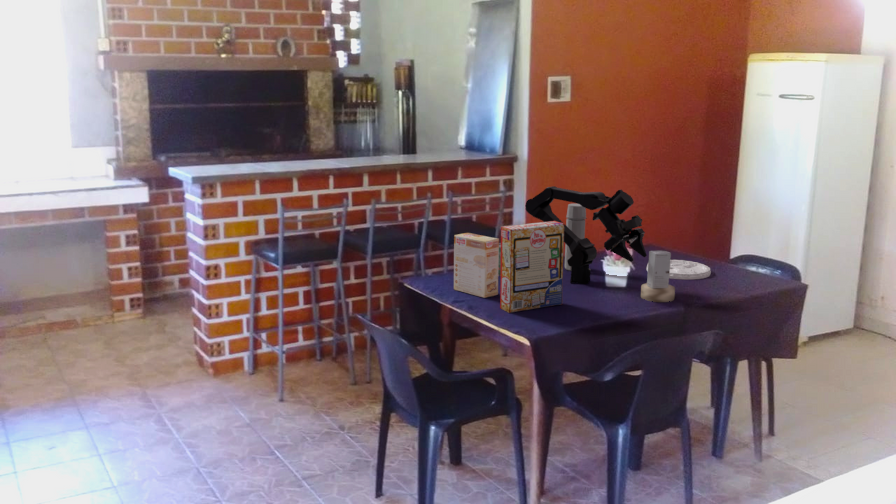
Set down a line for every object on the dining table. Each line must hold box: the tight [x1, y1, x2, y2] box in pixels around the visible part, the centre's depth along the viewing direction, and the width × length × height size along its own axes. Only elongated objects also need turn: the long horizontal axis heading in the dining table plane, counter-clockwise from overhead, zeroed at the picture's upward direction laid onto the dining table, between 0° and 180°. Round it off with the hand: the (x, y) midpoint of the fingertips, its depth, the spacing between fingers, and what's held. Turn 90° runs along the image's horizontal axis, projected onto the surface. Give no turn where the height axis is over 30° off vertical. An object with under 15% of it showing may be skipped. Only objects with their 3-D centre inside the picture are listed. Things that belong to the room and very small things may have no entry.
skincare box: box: [646, 250, 672, 289], centre depth 270 cm, size 6×4×12 cm
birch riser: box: [640, 282, 676, 303], centre depth 272 cm, size 11×11×4 cm
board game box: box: [499, 221, 565, 314], centre depth 257 cm, size 20×6×27 cm, turn 117°
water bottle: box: [564, 203, 587, 272], centre depth 307 cm, size 9×8×25 cm
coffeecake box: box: [453, 232, 500, 299], centre depth 275 cm, size 15×7×20 cm, turn 44°
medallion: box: [646, 259, 712, 281], centre depth 309 cm, size 24×27×2 cm
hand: (639, 258), depth 274 cm, fingers open, 9 cm apart
